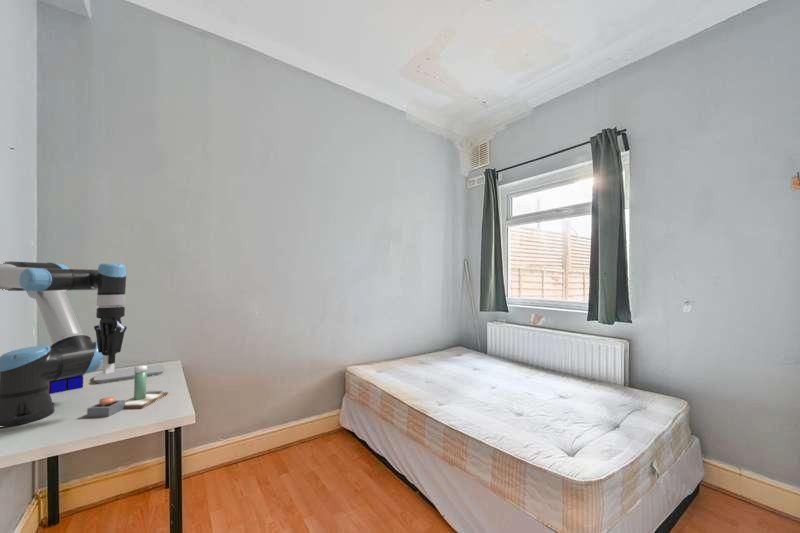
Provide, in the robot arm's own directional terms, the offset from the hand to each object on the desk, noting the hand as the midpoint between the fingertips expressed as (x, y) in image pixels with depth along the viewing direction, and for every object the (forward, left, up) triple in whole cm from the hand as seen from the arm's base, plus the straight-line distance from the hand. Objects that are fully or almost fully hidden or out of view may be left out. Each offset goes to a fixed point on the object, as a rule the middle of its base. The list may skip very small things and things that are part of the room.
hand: (108, 372), depth 113 cm
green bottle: (+10, -4, -13) cm, 17 cm away
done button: (0, 0, -11) cm, 11 cm away
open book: (+10, -5, -14) cm, 18 cm away
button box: (0, 0, -14) cm, 14 cm away
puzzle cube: (+28, +40, -14) cm, 51 cm away
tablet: (+46, +26, -15) cm, 55 cm away
